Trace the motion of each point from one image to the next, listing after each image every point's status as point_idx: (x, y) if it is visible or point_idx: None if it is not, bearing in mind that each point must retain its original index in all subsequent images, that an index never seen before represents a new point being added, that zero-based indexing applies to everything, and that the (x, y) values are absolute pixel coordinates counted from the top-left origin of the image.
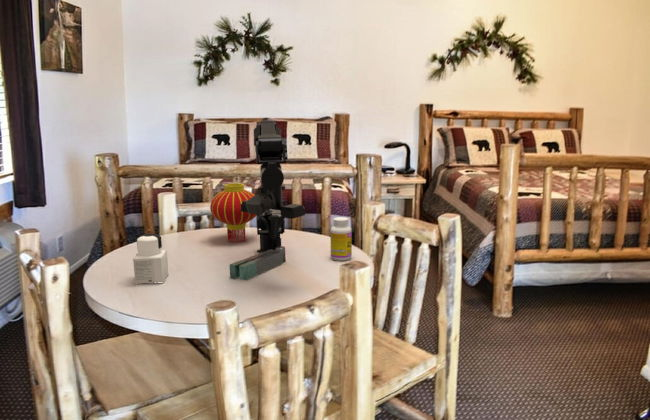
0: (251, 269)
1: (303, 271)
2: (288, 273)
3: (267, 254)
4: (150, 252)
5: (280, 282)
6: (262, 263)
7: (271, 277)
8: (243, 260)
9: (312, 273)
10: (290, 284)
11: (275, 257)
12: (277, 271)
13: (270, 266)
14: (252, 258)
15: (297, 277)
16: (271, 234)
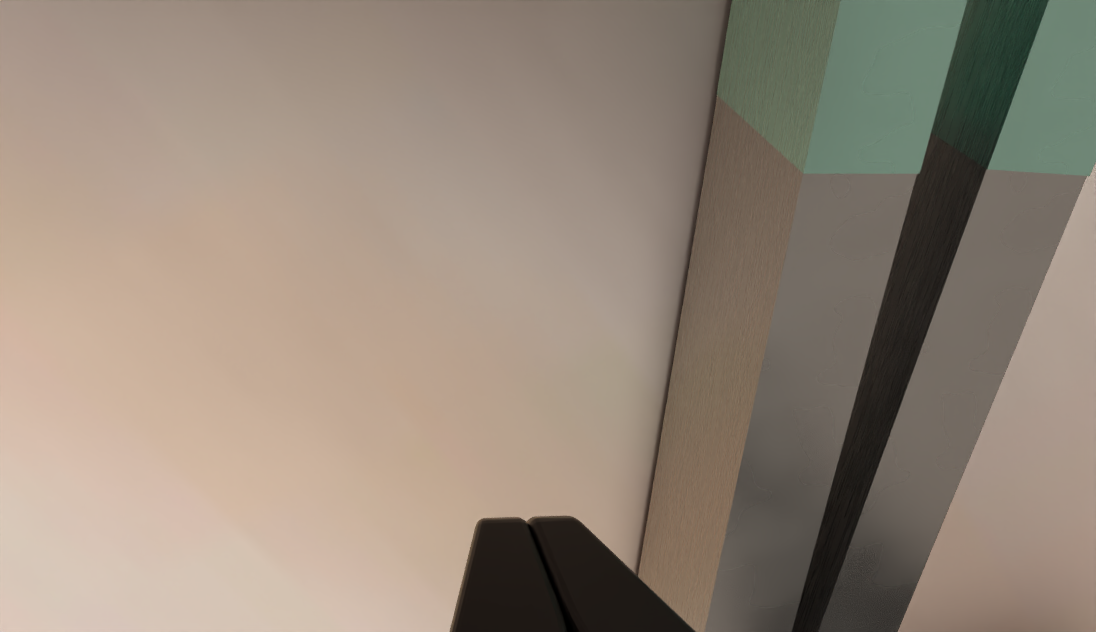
0: (789, 2)
1: (252, 533)
2: (378, 391)
3: (804, 532)
4: None
5: (230, 36)
6: (744, 296)
7: (494, 157)
8: (1049, 167)
9: (94, 536)
10: (19, 32)
11: (693, 562)
12: (555, 380)
13: (679, 404)
14: (950, 318)
15: (158, 331)
16: (546, 609)
